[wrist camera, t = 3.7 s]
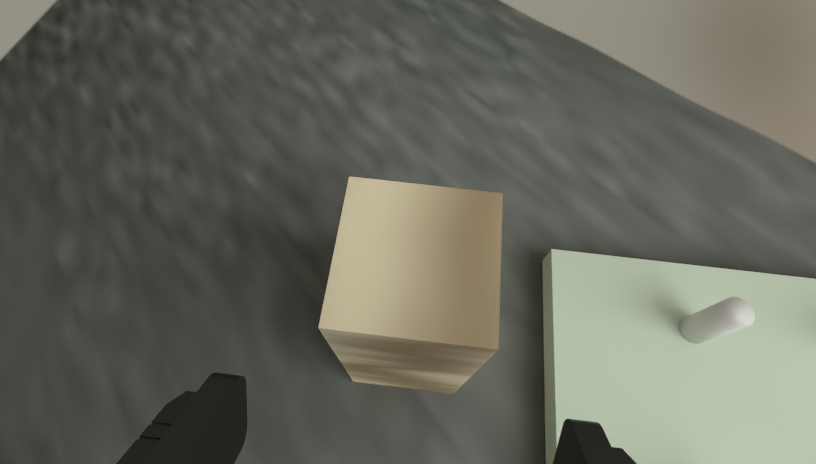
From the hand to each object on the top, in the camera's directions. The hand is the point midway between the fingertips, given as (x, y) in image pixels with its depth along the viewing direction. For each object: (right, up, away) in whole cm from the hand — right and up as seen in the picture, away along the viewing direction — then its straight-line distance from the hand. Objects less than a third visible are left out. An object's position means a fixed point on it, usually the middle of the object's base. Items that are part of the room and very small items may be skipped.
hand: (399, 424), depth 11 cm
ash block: (0, 0, +10) cm, 10 cm away
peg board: (+16, -4, +8) cm, 19 cm away
